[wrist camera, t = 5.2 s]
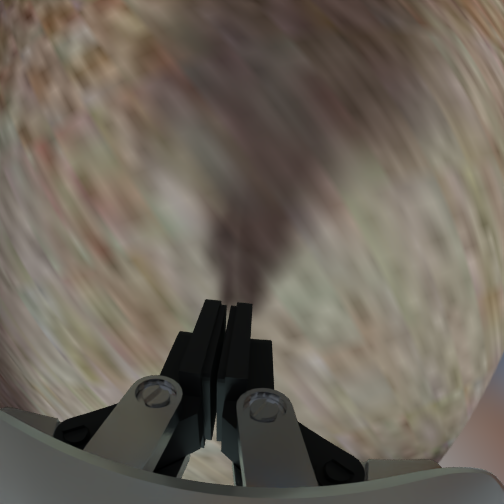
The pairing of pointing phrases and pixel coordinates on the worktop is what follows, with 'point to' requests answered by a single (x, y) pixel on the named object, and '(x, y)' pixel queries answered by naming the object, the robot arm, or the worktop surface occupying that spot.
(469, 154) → the worktop surface
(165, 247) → the worktop surface
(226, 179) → the worktop surface
